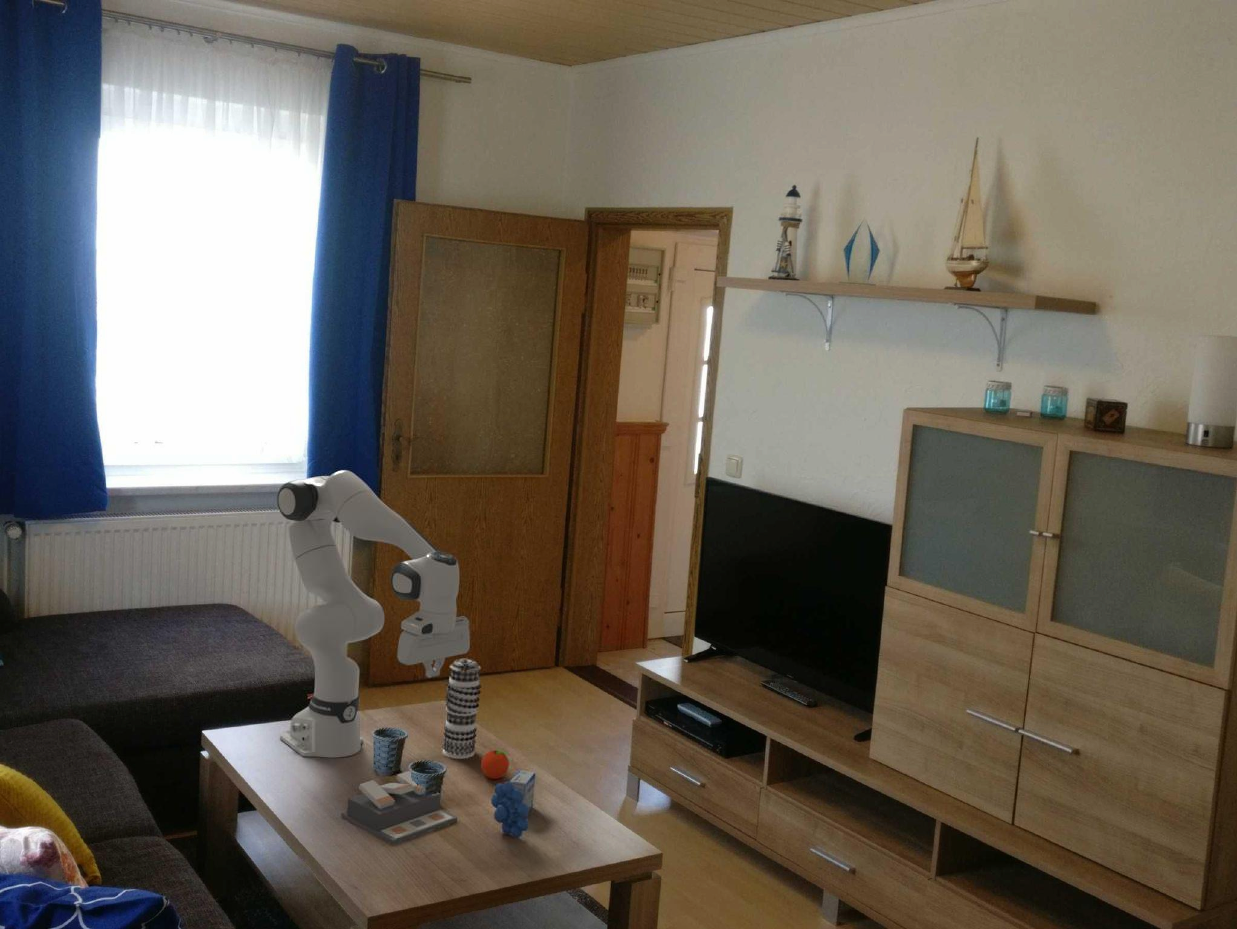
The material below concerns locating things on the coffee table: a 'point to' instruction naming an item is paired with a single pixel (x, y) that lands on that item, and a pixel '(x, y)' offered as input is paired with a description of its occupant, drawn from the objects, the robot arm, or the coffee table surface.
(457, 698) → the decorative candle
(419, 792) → the rocker
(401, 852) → the coffee table surface
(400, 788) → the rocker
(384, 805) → the block
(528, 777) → the medicine box
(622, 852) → the coffee table surface
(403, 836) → the switch unit
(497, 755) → the tomato
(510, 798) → the grapes
